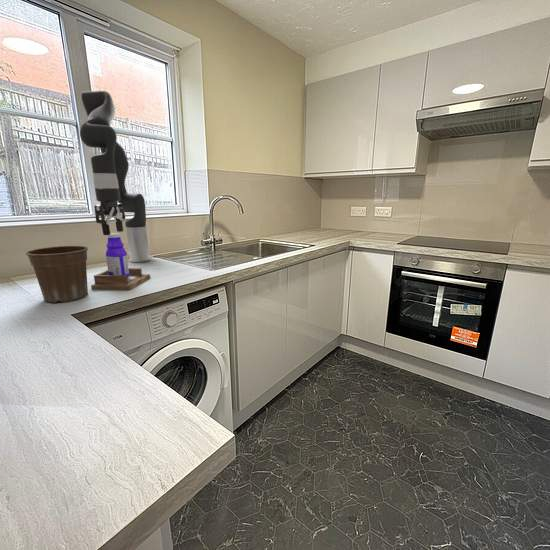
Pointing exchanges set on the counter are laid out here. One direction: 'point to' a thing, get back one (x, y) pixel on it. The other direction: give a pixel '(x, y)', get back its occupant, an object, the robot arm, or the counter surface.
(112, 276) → the rail board
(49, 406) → the counter surface
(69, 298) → the plant pot
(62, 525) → the counter surface
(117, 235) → the bottle
